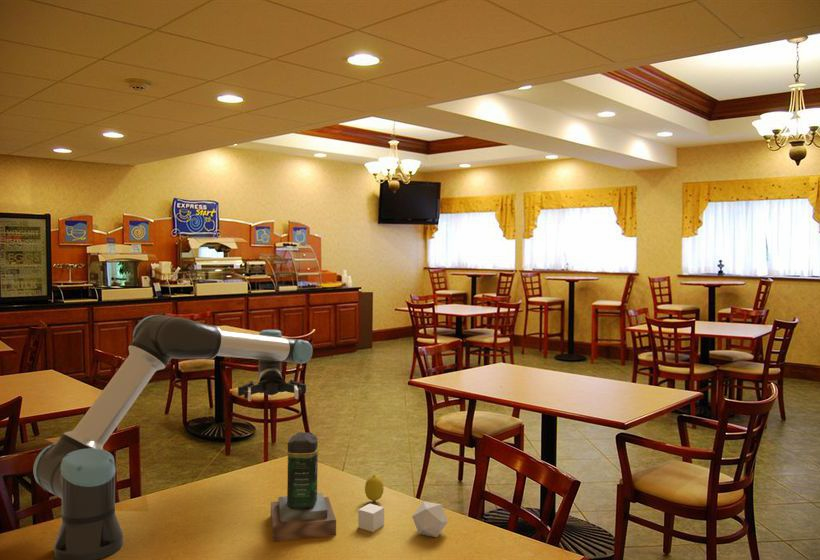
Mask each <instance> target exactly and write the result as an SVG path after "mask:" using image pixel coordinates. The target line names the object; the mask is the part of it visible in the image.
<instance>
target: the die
mask: <svg viewBox="0 0 820 560" xmlns="http://www.w3.org/2000/svg"><path fill="white" fill-rule="evenodd" d="M411 517H412V520H413V523H414V525H415V527H416V531H417V533H418V535H422V536H427V537H433V538H438V537H439V536H440V534H441V532H442V531H443V529H444V528H445V526H446V525H447V524H448V523H449V522H448V521H449V520H448V519H447V515H446V513H445V511H444V508H443V505H442V504H441V503H436V502H429V501H425V500H424V501H422V503H421V504H420V505H419V506H418V508H417V509H416V511H415V512H414V513H413V515H412V516H411Z"/></svg>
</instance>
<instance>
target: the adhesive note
mask: <svg viewBox="0 0 820 560" xmlns="http://www.w3.org/2000/svg"><path fill="white" fill-rule="evenodd" d="M357 512H358V517H357V518H358V521H357V523H358V528H360V529H363V530H364V531H369V532H373V533H374V532H376V531H377V530H379V529H380V528H382V527H384V526H385V506H380V505H376V504H373V503H368V504H366V505H364V506H362V507H361V508H358V511H357Z"/></svg>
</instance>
